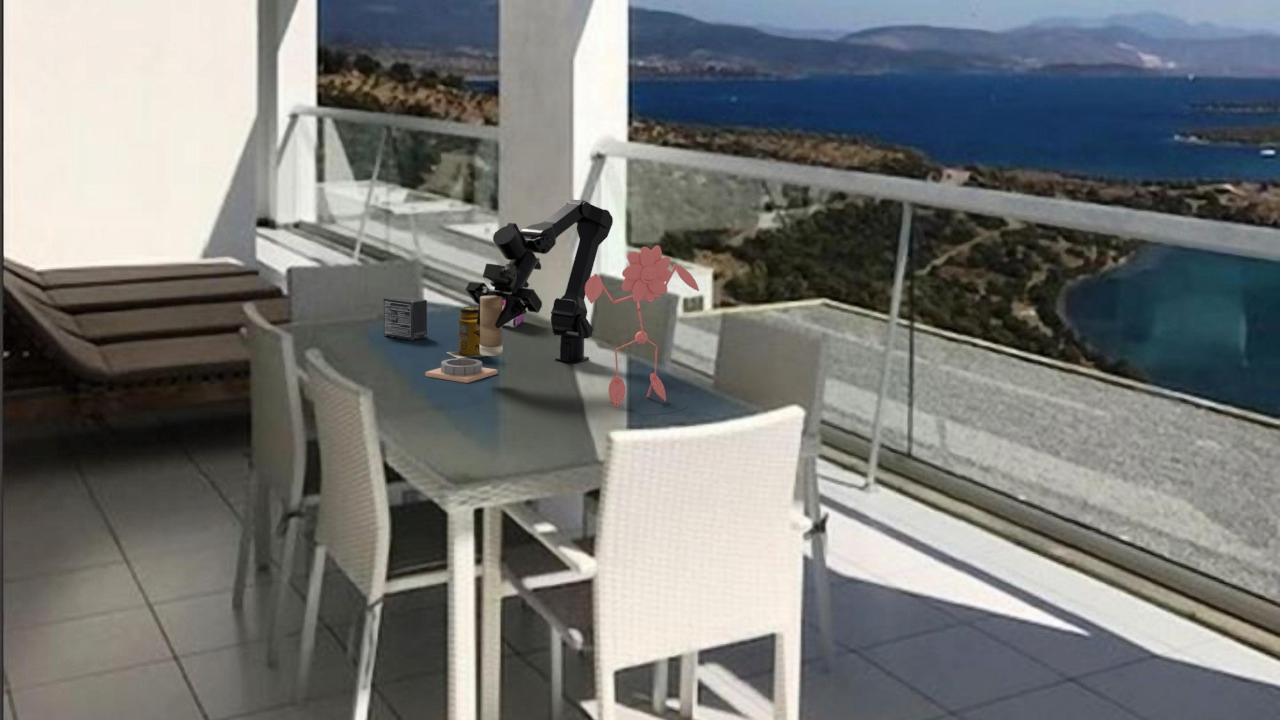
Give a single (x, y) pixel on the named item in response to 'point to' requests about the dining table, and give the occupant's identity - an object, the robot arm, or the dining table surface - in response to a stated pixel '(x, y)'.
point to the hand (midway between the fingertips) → (487, 325)
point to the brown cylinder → (490, 325)
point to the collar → (461, 370)
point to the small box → (405, 317)
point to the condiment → (468, 334)
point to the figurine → (645, 283)
